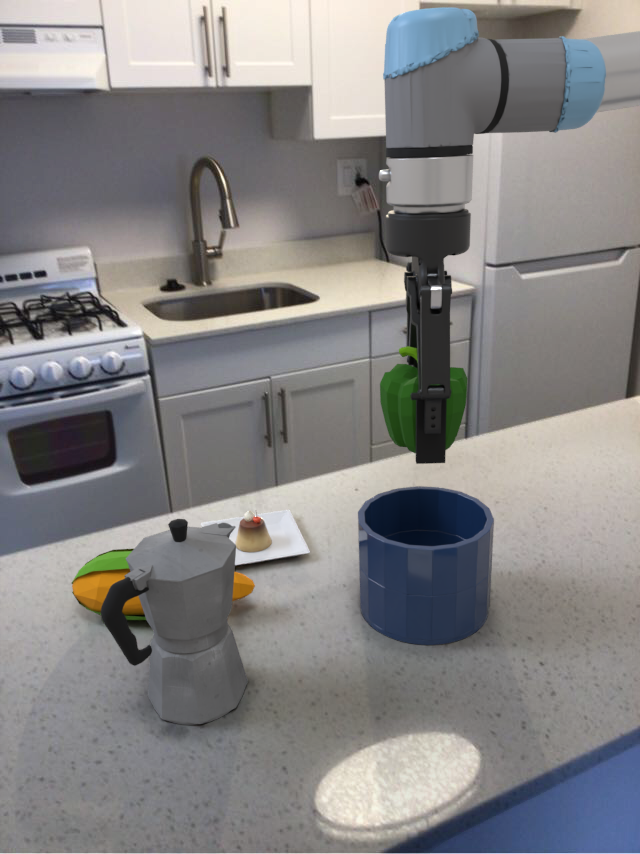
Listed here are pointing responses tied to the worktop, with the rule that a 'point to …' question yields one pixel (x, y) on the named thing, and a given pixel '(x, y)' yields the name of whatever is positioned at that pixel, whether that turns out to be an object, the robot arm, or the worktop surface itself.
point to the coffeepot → (183, 621)
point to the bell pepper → (403, 409)
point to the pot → (425, 564)
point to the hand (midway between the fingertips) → (425, 443)
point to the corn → (112, 568)
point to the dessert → (264, 536)
